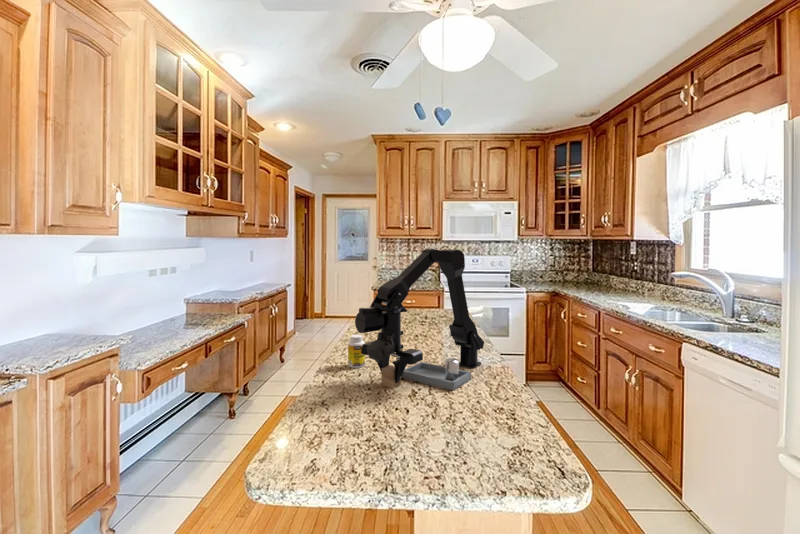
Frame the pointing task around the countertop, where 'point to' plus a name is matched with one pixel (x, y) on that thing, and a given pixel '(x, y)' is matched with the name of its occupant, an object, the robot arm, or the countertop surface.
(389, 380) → the walnut block
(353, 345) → the supplement bottle
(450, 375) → the grey peg
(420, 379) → the parts tray
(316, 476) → the countertop surface
